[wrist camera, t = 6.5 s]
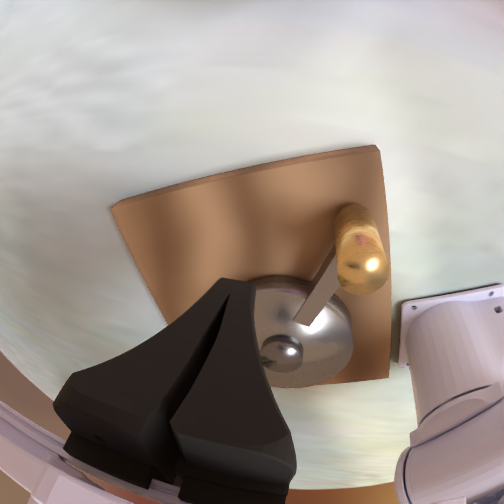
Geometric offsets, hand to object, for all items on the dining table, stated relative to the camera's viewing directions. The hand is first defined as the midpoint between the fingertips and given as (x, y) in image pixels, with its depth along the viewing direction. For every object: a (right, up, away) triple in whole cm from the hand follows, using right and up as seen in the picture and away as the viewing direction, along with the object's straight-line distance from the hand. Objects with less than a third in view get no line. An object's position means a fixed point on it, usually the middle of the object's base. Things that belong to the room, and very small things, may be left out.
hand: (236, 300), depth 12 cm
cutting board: (+2, -2, +12) cm, 13 cm away
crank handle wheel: (+4, -2, +10) cm, 11 cm away
